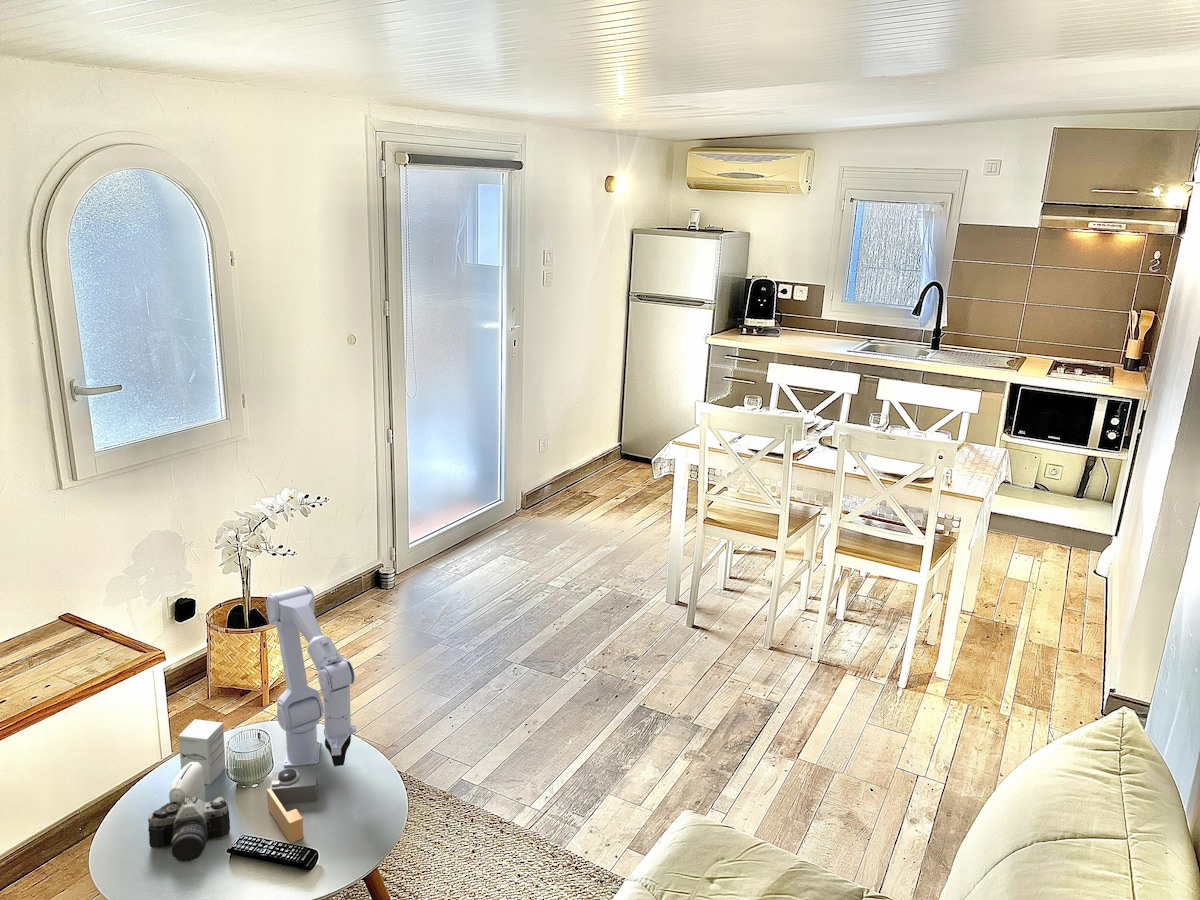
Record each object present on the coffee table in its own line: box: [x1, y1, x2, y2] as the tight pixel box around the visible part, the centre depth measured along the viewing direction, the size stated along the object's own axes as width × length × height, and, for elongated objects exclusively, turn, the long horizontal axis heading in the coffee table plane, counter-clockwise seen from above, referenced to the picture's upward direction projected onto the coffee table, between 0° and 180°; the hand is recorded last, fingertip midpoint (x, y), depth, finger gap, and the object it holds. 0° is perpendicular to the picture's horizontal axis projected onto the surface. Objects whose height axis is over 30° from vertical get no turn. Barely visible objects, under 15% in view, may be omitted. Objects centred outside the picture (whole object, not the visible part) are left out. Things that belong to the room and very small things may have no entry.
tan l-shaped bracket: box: [266, 787, 304, 844], centre depth 195 cm, size 3×14×5 cm, turn 39°
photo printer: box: [168, 762, 207, 805], centre depth 194 cm, size 10×4×12 cm, turn 2°
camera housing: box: [269, 768, 319, 806], centre depth 204 cm, size 6×10×6 cm, turn 103°
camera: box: [147, 796, 231, 863], centre depth 185 cm, size 16×10×10 cm, turn 109°
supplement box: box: [178, 718, 226, 786], centre depth 209 cm, size 7×7×13 cm
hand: (339, 764), depth 202 cm, fingers closed
